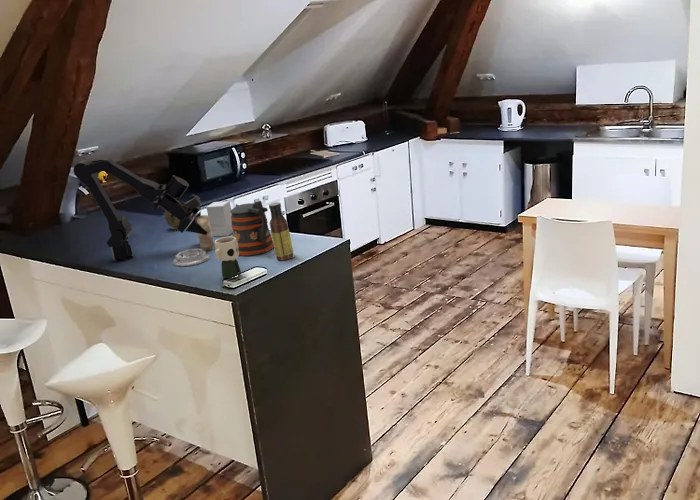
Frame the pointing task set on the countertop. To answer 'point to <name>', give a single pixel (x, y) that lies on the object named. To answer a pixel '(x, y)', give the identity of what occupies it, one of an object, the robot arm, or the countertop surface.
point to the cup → (171, 221)
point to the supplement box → (220, 218)
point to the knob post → (207, 239)
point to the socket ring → (191, 257)
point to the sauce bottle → (280, 233)
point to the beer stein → (251, 229)
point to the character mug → (228, 256)
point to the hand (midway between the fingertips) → (208, 231)
